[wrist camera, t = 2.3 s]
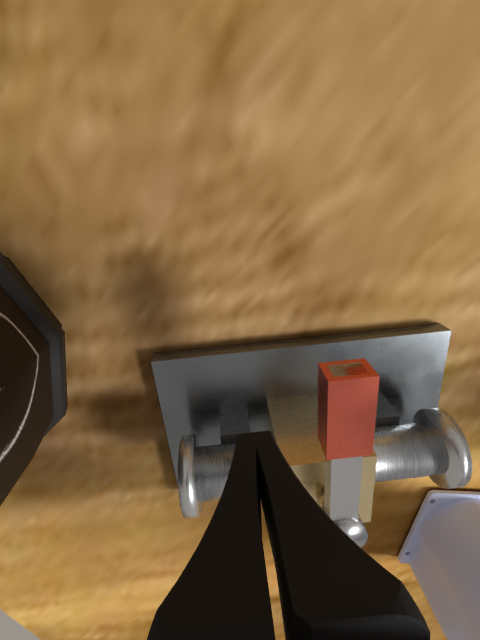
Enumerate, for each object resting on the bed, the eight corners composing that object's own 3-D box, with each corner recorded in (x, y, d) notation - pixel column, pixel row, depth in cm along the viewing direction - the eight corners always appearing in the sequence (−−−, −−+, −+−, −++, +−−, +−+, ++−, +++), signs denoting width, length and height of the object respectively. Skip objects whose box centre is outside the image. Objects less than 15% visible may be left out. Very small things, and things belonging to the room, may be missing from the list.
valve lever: (356, 527, 18) (367, 554, 17) (313, 532, 18) (320, 559, 17) (369, 357, 14) (384, 375, 13) (313, 363, 14) (323, 381, 13)
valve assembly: (440, 323, 23) (552, 394, 15) (417, 463, 28) (493, 569, 20) (154, 353, 23) (120, 441, 15) (182, 489, 28) (169, 608, 20)
